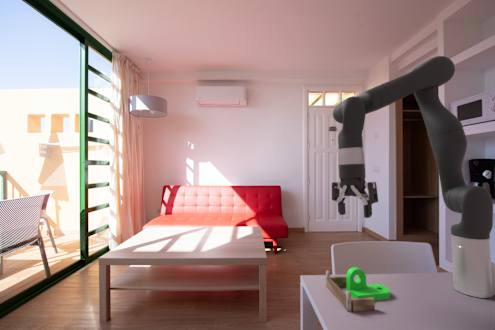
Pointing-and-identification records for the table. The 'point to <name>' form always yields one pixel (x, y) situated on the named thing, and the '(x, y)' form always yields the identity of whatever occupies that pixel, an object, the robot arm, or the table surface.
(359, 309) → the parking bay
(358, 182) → the robot arm
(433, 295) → the table surface
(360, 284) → the mechanical part
